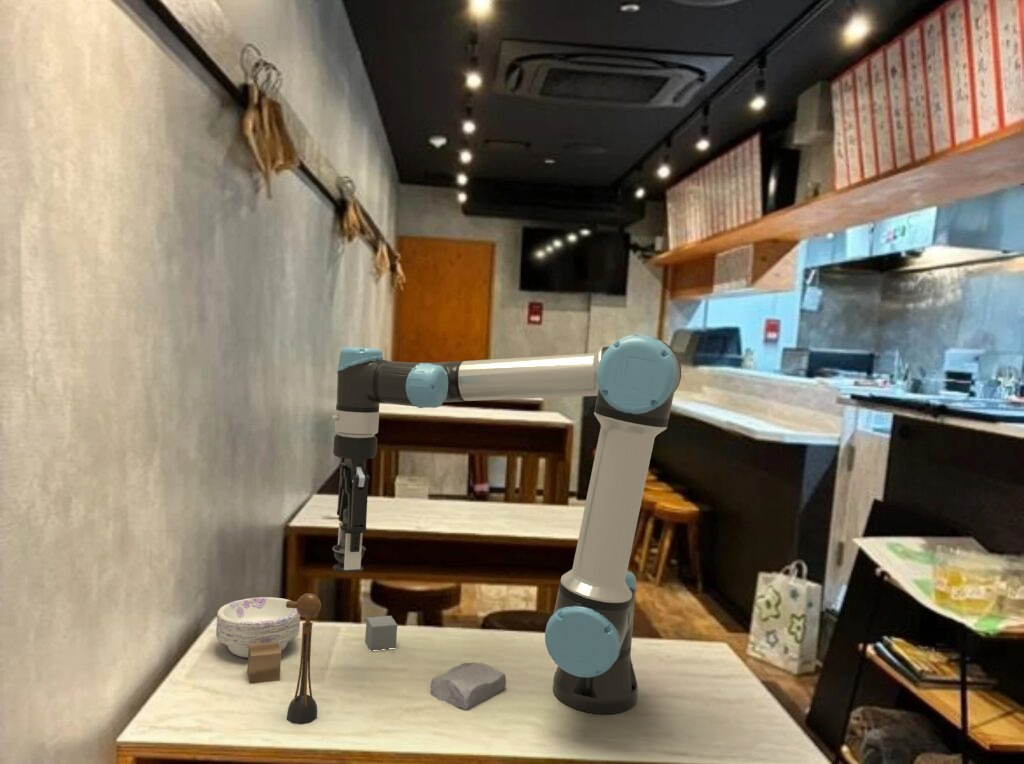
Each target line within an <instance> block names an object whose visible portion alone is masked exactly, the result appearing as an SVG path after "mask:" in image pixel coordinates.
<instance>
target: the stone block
mask: <svg viewBox="0 0 1024 764" xmlns="http://www.w3.org/2000/svg"><path fill="white" fill-rule="evenodd" d="M506 675H507V674H506V673H505V672H503V671H500V670H499V669H497V668H495V667H493V666H491V665H488V664H486V663H484V662H463V663H461V664H460V665H456V666H454V667H452V668H449V669H448V670H447V671H446V672H444V673H442V674H440V675H437V676H434V677H432V678H431V681H430V692H431V696H432V695H433V696H432V697H434V698H435V697H436V699H437V700H438V699H439V700H438V701H440V700H441V702H443V701H445V702H444V703H446V702H447V703H446V704H450V705H451V706H454V707H456V708H460V709H461V710H463V711H464V710H465V711H467V709H468V710H470V709H472V708H474V707H476V706H477V704H478V705H480V704H481V703H483V702H484V700H485V701H487V700H489V699H490V698H492V697H493V696H497V694H500V693H501V692H503V691H504V690H505V688H506V686H507V677H506ZM491 696H492V697H491ZM488 698H489V699H488ZM486 699H487V700H486ZM475 705H476V706H475Z"/></svg>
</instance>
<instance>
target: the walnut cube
mask: <svg viewBox="0 0 1024 764" xmlns="http://www.w3.org/2000/svg"><path fill="white" fill-rule="evenodd" d="M281 661H282V651H280V647H279V644H278V642H271V643H260V644H249V649H248V658H247V669H246V671H247V672H246V673H247V678H248V682H249V683H248V684H258V683H259V684H261V683H269V682H275V681H276V682H277V681H280V679H281V666H282V665H281Z"/></svg>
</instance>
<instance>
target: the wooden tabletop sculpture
mask: <svg viewBox="0 0 1024 764" xmlns="http://www.w3.org/2000/svg"><path fill="white" fill-rule="evenodd" d="M286 607H287V608H295V609H297V612H298V613H299V615H300V617H301V618H305V619H304V620H305V621H304V622H303V623H302V624H301V625H302V633H301V650H300V659H299V660H300V663H299V671H298V678H297V685H296V688H295V692H294V693H295V694H294V698H292V700H291V701H290V703H289V705H288V707H287V713H286V721H288V722H290V723H291V724H296V725H304V724H311V723H312V722H313V721H315V720H316V719H318V705H317V702H316V700H315V699H314V698H313V691H312V686H311V685H312V682H311V680H312V679H311V647H312V634H313V633H312V632H313V629H312V628H313V625H314V624H313V622H311V619H313V618H316V617H317V616H318V615H319V613H320V611H321V608H322V603H321V600H320V598H319V597H318V596H317V595H316V594H314V593H304V594H302V595H301V596H299V598H298V599H297V601H293V600H291V601H287V603H286ZM307 690H308V691H309V694H308V691H307ZM298 693H299V694H298Z"/></svg>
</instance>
